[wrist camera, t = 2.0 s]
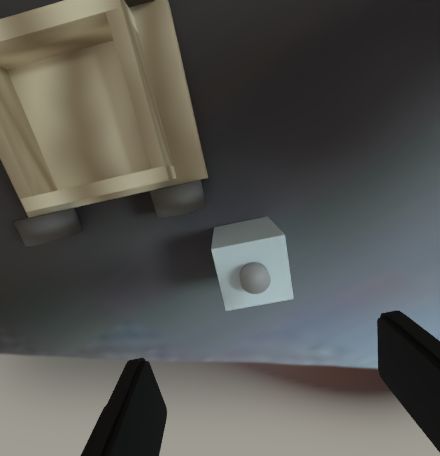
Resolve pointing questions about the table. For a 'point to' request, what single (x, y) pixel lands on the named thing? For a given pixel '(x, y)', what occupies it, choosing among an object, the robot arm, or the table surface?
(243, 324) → the table surface
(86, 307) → the table surface
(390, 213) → the table surface
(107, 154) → the birch chassis
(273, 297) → the block
